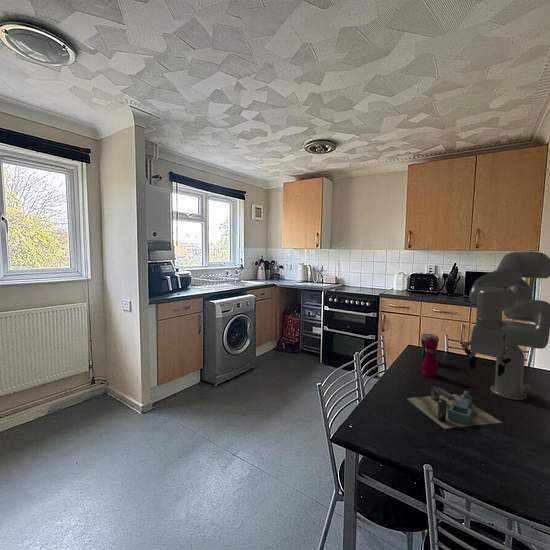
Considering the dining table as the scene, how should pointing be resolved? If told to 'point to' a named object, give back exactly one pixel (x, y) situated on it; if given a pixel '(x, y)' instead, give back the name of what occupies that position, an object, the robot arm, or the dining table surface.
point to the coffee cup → (423, 338)
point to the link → (461, 409)
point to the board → (431, 409)
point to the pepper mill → (430, 358)
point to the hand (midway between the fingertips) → (486, 371)
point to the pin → (442, 410)
